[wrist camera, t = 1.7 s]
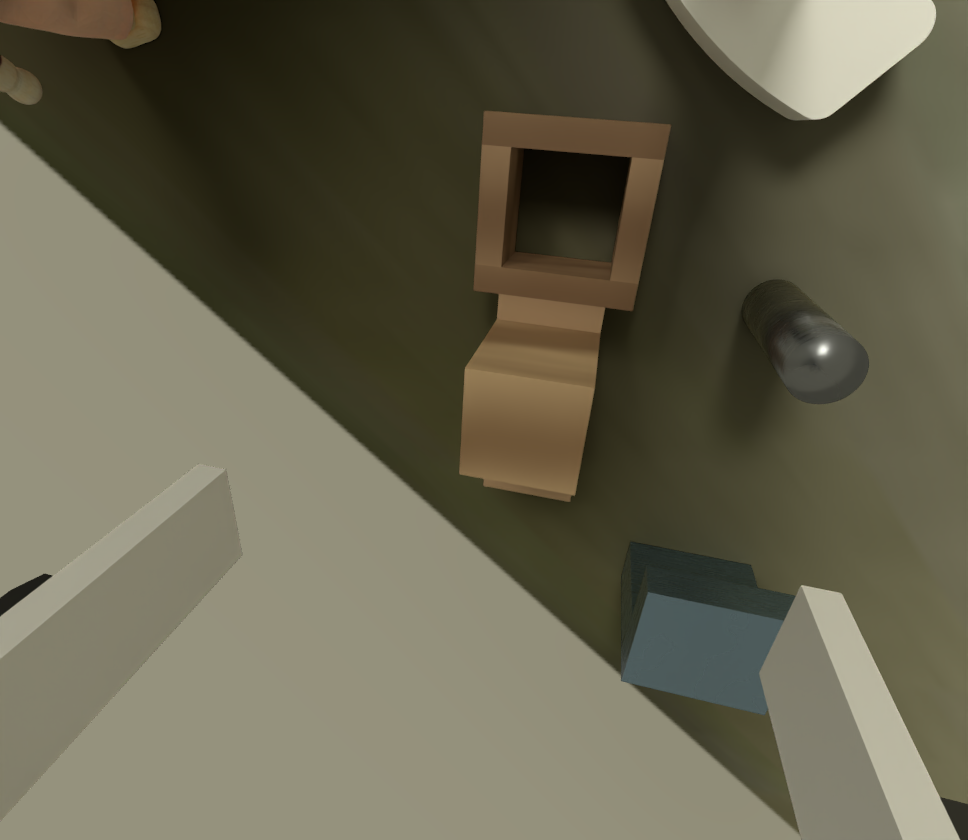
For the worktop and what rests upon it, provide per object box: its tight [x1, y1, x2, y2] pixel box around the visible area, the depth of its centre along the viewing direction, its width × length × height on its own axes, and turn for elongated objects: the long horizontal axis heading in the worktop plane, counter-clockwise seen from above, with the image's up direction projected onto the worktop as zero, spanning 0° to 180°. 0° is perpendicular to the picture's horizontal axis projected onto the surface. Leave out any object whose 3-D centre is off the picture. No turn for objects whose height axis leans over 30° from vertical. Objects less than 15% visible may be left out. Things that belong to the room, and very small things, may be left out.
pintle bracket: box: [621, 280, 869, 715], centre depth 22 cm, size 17×6×6 cm, turn 176°
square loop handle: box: [459, 111, 671, 502], centre depth 20 cm, size 15×6×8 cm, turn 176°
